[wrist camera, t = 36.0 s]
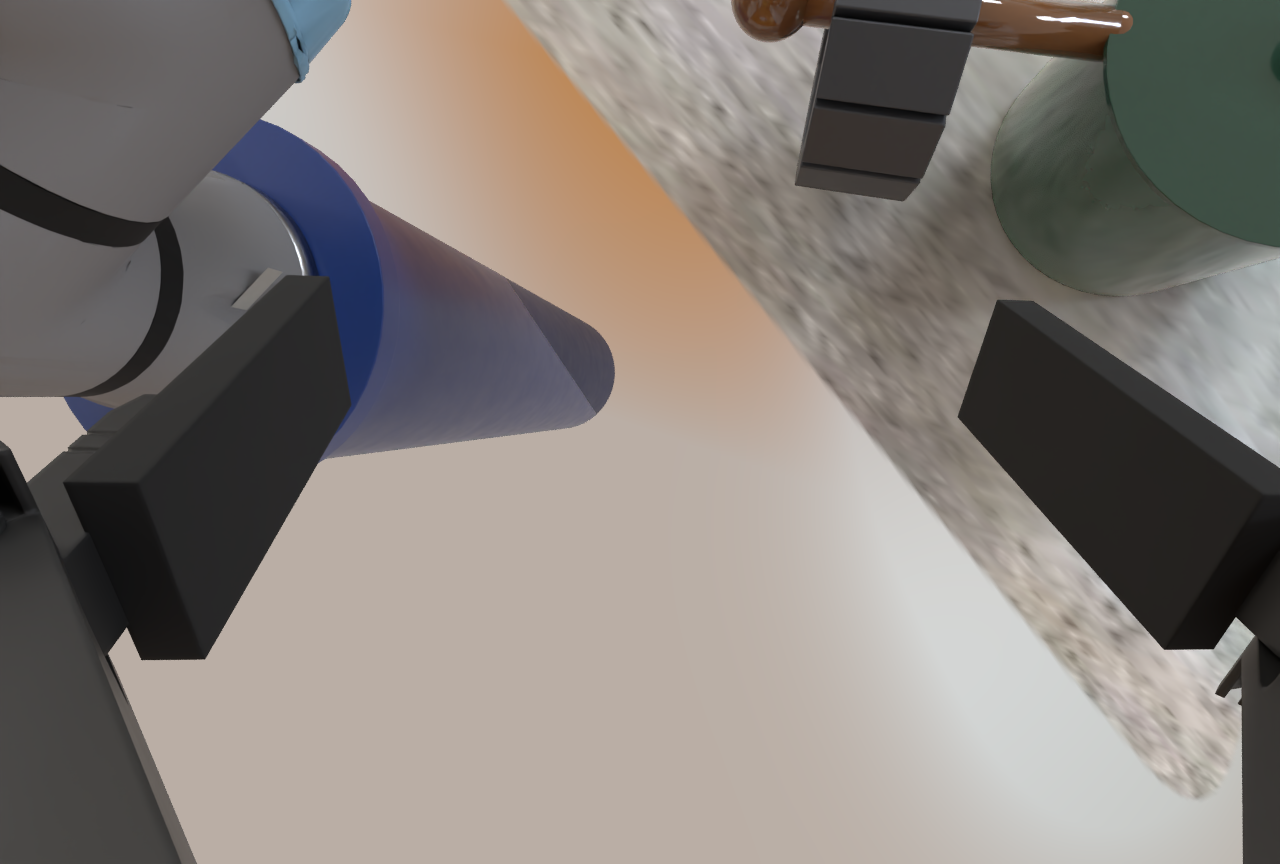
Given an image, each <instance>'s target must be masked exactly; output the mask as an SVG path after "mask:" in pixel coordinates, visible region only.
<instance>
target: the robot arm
mask: <svg viewBox="0 0 1280 864" xmlns="http://www.w3.org/2000/svg"><path fill="white" fill-rule="evenodd" d="M350 7H351V0H0V397H81V398H84V399H87V400H89V401H92V402H95V403H97V404H100V405H103V406H106V407H109V408H114V409H113V410H111V411H109V412H108V413H107V414H106V415H105V416H104V417H102V418H101V419H100V420H99V421H98V422H97V423H95V424H94V425H93V426H92V427H91V428H90V429H89V430H87V435H82V436H81V437H79V438H78V439H77V440H76V441H75V442H74V443H72V444H71V445H70V446H69V447H68V452H62V453H61V454H60V455H59V456H57V457H56V458H55V459H54V460H53V461H52V462H50V463H49V464H48V465H47V466H46V467H45V468H44V469H42V470H41V471H40V472H39V473H38V474H37V475H36V476H34V477H33V478H32V479H31V480H30V481H29V482H27V483H26V481H25V479H24V477H23V474H22V472H21V470H20V468H19V466H18V464H17V462H16V460H15V458H14V455H13V453H12V451H11V449H10V448H9V447H8V446H6V445H5V444H4V443H3V442H1V441H0V864H197V863H196V861H195V858H194V856H193V853H192V851H191V849H190V846H189V844H188V841H187V839H186V837H185V835H184V832H183V829H182V827H181V825H180V822H179V820H178V817H177V815H176V813H175V810H174V808H173V806H172V803H171V801H170V798H169V796H168V794H167V791H166V789H165V786H164V784H163V782H162V779H161V777H160V774H159V772H158V770H157V767H156V765H155V762H154V760H153V758H152V755H151V753H150V751H149V748H148V746H147V743H146V741H145V739H144V736H143V734H142V731H141V729H140V727H139V724H138V722H137V719H136V717H135V715H134V712H133V710H132V707H131V705H130V703H129V700H128V698H127V695H126V693H125V691H124V688H123V686H122V684H121V681H120V679H119V676H118V674H117V672H116V670H115V667H114V665H113V663H112V661H111V659H110V657H109V655H108V652H109V651H110V649H111V648H112V647H113V645H114V644H115V643H116V641H117V640H118V639H119V637H120V636H121V634H122V633H123V632H124V630H125V629H126V628H128V631H129V633H130V635H131V637H132V640H133V642H134V644H135V647H136V649H137V651H138V653H139V656H140V658H141V660H197V659H205V658H206V657H207V655H208V653H209V652H210V650H211V648H212V646H213V645H214V643H215V641H216V639H217V638H218V636H219V634H220V633H221V631H222V629H223V627H224V626H225V624H226V622H227V620H228V619H229V617H230V615H231V613H232V612H233V610H234V608H235V606H236V605H237V603H238V601H239V599H240V598H241V596H242V594H243V592H244V591H245V589H246V587H247V586H248V584H249V582H250V580H251V579H252V577H253V575H254V573H255V572H256V570H257V568H258V567H259V565H260V563H261V561H262V560H263V558H264V556H265V554H266V553H267V551H268V549H269V547H270V546H271V544H272V542H273V540H274V538H275V537H276V535H277V534H278V532H279V530H280V528H281V527H282V525H283V523H284V521H285V519H286V518H287V516H288V514H289V513H290V511H291V509H292V508H293V506H294V504H295V502H296V500H297V499H298V497H299V495H300V494H301V492H302V490H303V488H304V487H305V485H306V483H307V481H308V480H309V478H310V476H311V474H312V473H313V471H314V469H315V467H316V466H317V464H318V462H319V461H320V459H321V457H322V455H323V454H324V452H325V450H326V449H327V447H328V445H329V443H330V442H331V440H332V438H333V436H334V435H335V433H336V431H337V429H338V428H339V426H340V424H341V422H342V421H343V419H344V417H345V416H346V414H347V412H348V410H349V409H350V407H351V399H350V393H349V387H348V381H347V376H346V370H345V364H344V358H343V353H342V347H341V341H340V335H339V330H338V324H337V318H336V312H335V306H334V301H333V295H332V289H331V283H330V278H329V276H319V274H318V270H317V266H316V262H315V259H314V256H313V254H312V251H311V249H310V247H309V244H308V242H307V240H306V238H305V237H304V235H303V233H302V231H301V230H300V228H299V227H298V225H297V224H296V223H295V221H294V220H293V219H292V217H291V216H290V215H289V214H288V213H287V212H286V211H285V210H284V209H283V208H282V207H281V206H280V205H279V204H278V203H277V202H276V201H274V200H273V199H272V198H270V197H269V196H268V195H266V194H265V193H263V192H261V191H260V190H258V189H256V188H254V187H252V186H250V185H248V184H246V183H244V182H241V181H239V180H237V179H235V178H233V177H230V176H228V175H225V174H223V173H220V172H217V171H212V169H213V168H214V167H215V166H216V165H217V164H218V163H219V162H220V161H221V160H222V159H223V158H224V157H225V155H226V154H227V153H228V152H229V151H230V150H231V149H232V148H233V147H234V146H235V145H236V144H237V143H238V142H239V141H240V140H241V139H242V138H243V136H244V135H245V134H246V133H247V132H248V131H249V130H250V129H251V128H252V127H253V126H254V125H255V124H256V123H257V122H258V121H259V120H260V118H261V117H262V116H263V115H264V114H265V113H266V112H267V111H268V110H269V109H270V108H271V107H272V105H274V104H275V103H276V102H277V100H278V99H279V98H280V97H281V96H282V95H283V94H284V93H285V92H286V91H287V90H288V89H289V88H290V87H291V86H292V85H293V84H294V83H301V82H302V81H303V80H304V79H305V75H306V74H307V73H308V72H309V63H310V62H311V61H312V60H313V59H314V58H315V56H316V55H317V54H318V53H319V52H320V50H321V49H322V48H323V47H324V46H325V45H326V43H327V42H328V41H329V40H330V39H331V37H332V36H333V35H334V34H335V33H336V31H337V30H338V29H339V28H340V27H341V25H342V24H343V23H344V22H345V20H346V18H347V16H348V14H349V11H350ZM958 418H959V419H960V420H961V421H962V423H963V424H964V425H965V426H966V427H967V428H968V429H969V430H970V432H971V433H972V434H973V435H974V436H975V437H976V438H977V439H978V441H979V442H980V443H981V444H982V445H983V446H984V447H985V448H986V450H987V451H988V452H989V453H990V454H991V455H992V456H993V457H994V459H995V460H996V461H997V462H998V463H999V464H1000V465H1001V466H1002V468H1003V469H1004V470H1005V471H1006V472H1007V473H1008V474H1009V476H1010V477H1011V478H1012V479H1013V480H1014V481H1015V482H1016V483H1017V485H1018V486H1019V487H1020V488H1021V489H1022V490H1023V491H1024V492H1025V494H1026V495H1027V496H1028V497H1029V498H1030V499H1031V500H1032V501H1033V503H1034V504H1035V505H1036V506H1037V507H1038V508H1039V509H1040V510H1041V512H1042V513H1043V514H1044V515H1045V516H1046V517H1047V518H1048V519H1049V521H1050V522H1051V523H1052V524H1053V525H1054V526H1055V527H1056V528H1057V530H1058V531H1059V532H1060V533H1061V534H1062V535H1063V536H1064V537H1065V539H1066V540H1067V541H1068V542H1069V543H1070V544H1071V545H1072V546H1073V548H1074V549H1075V550H1076V551H1077V552H1078V553H1079V554H1080V556H1081V557H1082V558H1083V559H1084V560H1085V561H1086V562H1087V563H1088V565H1089V566H1090V567H1091V568H1092V569H1093V570H1094V571H1095V572H1096V574H1097V575H1098V576H1099V577H1100V578H1101V579H1102V580H1103V581H1104V583H1105V584H1106V585H1107V586H1108V587H1109V588H1110V589H1111V590H1112V592H1113V593H1114V594H1115V595H1116V596H1117V597H1118V598H1119V599H1120V601H1121V602H1122V603H1123V604H1124V605H1125V606H1126V607H1127V608H1128V610H1129V611H1130V612H1131V613H1132V614H1133V615H1134V616H1135V617H1136V619H1137V620H1138V621H1139V622H1140V623H1141V624H1142V625H1143V626H1144V628H1145V629H1146V630H1147V631H1148V632H1149V633H1150V634H1151V636H1152V637H1153V638H1154V639H1155V640H1156V641H1157V642H1158V643H1159V645H1160V646H1161V647H1162V648H1163V649H1164V650H1184V649H1214V648H1215V646H1216V645H1217V643H1218V642H1219V640H1220V639H1221V638H1222V636H1223V635H1224V633H1225V632H1226V630H1227V629H1228V627H1229V626H1230V625H1231V623H1232V622H1233V620H1234V619H1235V617H1237V618H1238V619H1239V620H1240V621H1241V622H1242V623H1243V624H1244V625H1245V626H1246V627H1247V628H1248V629H1249V630H1250V631H1251V632H1252V633H1253V634H1254V635H1255V636H1254V638H1253V639H1252V641H1251V642H1250V643H1249V645H1248V646H1247V647H1246V649H1245V650H1244V652H1243V653H1242V654H1241V656H1240V657H1239V659H1238V660H1237V661H1236V663H1235V664H1234V665H1233V667H1232V668H1231V670H1230V671H1229V672H1228V674H1227V675H1226V676H1225V678H1224V679H1223V681H1222V682H1221V683H1220V685H1219V687H1218V689H1217V691H1216V693H1215V694H1217V695H1219V696H1221V697H1223V698H1225V696H1226V695H1227V694H1228V692H1229V691H1230V690H1231V689H1236V688H1241V687H1242V698H1241V699H1240V701H1239V702H1238V704H1239V705H1241V706H1242V790H1243V791H1242V792H1243V793H1242V795H1243V796H1242V797H1243V798H1242V799H1243V800H1242V803H1243V864H1280V468H1279V467H1277V466H1276V465H1274V464H1273V463H1271V462H1270V461H1268V460H1267V459H1266V458H1264V457H1263V456H1261V455H1260V454H1258V453H1257V452H1255V451H1254V450H1252V449H1251V448H1249V447H1248V446H1246V445H1245V444H1243V443H1242V442H1240V441H1239V440H1237V439H1236V438H1234V437H1233V436H1232V435H1230V434H1229V433H1227V432H1226V431H1224V430H1223V429H1221V428H1220V427H1218V426H1217V425H1215V424H1214V423H1212V422H1211V421H1209V420H1208V419H1206V418H1205V417H1203V416H1202V415H1201V414H1199V413H1198V412H1196V411H1195V410H1193V409H1192V408H1190V407H1189V406H1187V405H1186V404H1184V403H1183V402H1181V401H1180V400H1178V399H1177V398H1175V397H1174V396H1172V395H1171V394H1170V393H1168V392H1167V391H1165V390H1164V389H1162V388H1161V387H1159V386H1158V385H1156V384H1155V383H1153V382H1152V381H1150V380H1149V379H1147V378H1146V377H1144V376H1143V375H1141V374H1140V373H1139V372H1137V371H1136V370H1134V369H1133V368H1131V367H1130V366H1128V365H1127V364H1125V363H1124V362H1122V361H1121V360H1119V359H1118V358H1116V357H1115V356H1113V355H1112V354H1110V353H1109V352H1108V351H1106V350H1105V349H1103V348H1102V347H1100V346H1099V345H1097V344H1096V343H1094V342H1093V341H1091V340H1090V339H1088V338H1087V337H1085V336H1084V335H1082V334H1081V333H1079V332H1078V331H1077V330H1075V329H1074V328H1072V327H1071V326H1069V325H1068V324H1066V323H1065V322H1063V321H1062V320H1060V319H1059V318H1057V317H1056V316H1054V315H1053V314H1051V313H1050V312H1048V311H1047V310H1046V309H1044V308H1043V307H1041V306H1040V305H1038V304H1037V303H1035V302H1034V301H1018V300H997V302H996V305H995V308H994V311H993V314H992V317H991V320H990V323H989V326H988V329H987V332H986V335H985V338H984V340H983V343H982V346H981V349H980V352H979V355H978V358H977V361H976V364H975V367H974V370H973V373H972V376H971V379H970V382H969V385H968V388H967V391H966V394H965V397H964V400H963V403H962V406H961V408H960V411H959V414H958Z"/></svg>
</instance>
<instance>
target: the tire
mask: <svg viewBox="0 0 1280 864" xmlns="http://www.w3.org/2000/svg"><path fill="white" fill-rule="evenodd" d="M981 4H982V0H835V3H834V8H833V13H832V18H831V23H830V27H829V29H824V33H823V38H822V43H821V48H820V53H819V58H818V62H817V68H816V72H815V77H814V82H813V87H812V92H811V98H810V103H809V108H808V113H807V118H806V124H805V128H804V133H803V139H802V144H801V150H800V155H799V160H798V167H797V172H796V180H795V185H796V186H802V187H809V188H816V189H823V190H829V191H836V192H843V193H850V194H857V195H863V196H870V197H877V198H884V199H890V200H897V201H905V200H906V199H907V197H908V196H909V195H910V194H911V193H912V192H913V191H914V189H915V188H916V187H917V186H918V185H919V183H920V180H921V179H922V178H923V176H924V174H925V172H926V169H927V167H928V165H929V162H930V160H931V158H932V155H933V153H934V151H935V148H936V146H937V144H938V141H939V139H940V137H941V135H942V132H943V130H944V128H945V124H946V115H949V114H950V111H951V108H952V105H953V102H954V98H955V95H956V92H957V89H958V86H959V82H960V79H961V76H962V73H963V70H964V66H965V63H966V60H967V57H968V54H969V50H970V47H971V44H972V41H973V38H974V34H973V33H971V31H972V30H973V28H974V27H975V25H976V23H977V22H978V18H979V14H980V9H981Z"/></svg>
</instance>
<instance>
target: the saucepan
mask: <svg viewBox="0 0 1280 864" xmlns="http://www.w3.org/2000/svg"><path fill="white" fill-rule="evenodd" d="M834 3H835V0H731V5H732V11H733V14H734V17H735V19H736V22H737V23H738V25H739V26H740V28H741V29H742V30H743V31H744V32H745V33H746V34H747V35H748V36H750V37H751V38H753V39H755V40H758V41H762V42H778V41H782V40H785V39H787V38H789V37H790V36H792V35H794V34H795V33H796V32H797V31H798V30H799V29H800V28H801V27H802V26H807V27H815V28H823V29H829V27H830V23H831V18H832V13H833V8H834ZM971 33H973V34H974V38H973V41H972V44H971V47H977V48H986V49H994V50H1002V51H1010V52H1018V53H1026V54H1034V55H1042V56H1050V57H1053V58H1052V59H1051V60H1050V61H1049V62H1048V63H1047V64H1046V65H1045V66H1044V68H1043V69H1042V70H1041V71H1040V72H1039V73H1038V74H1037V75H1036V76H1035V78H1034V79H1033V80H1032V81H1031V82H1030V83H1029V84H1028V85H1027V86H1026V87H1025V89H1024V90H1023V91H1022V92H1021V94H1020V95H1019V96H1018V98H1017V99H1016V100H1015V101H1014V103H1013V105H1012V106H1011V108H1010V110H1009V111H1008V113H1007V115H1006V116H1005V118H1004V121H1003V123H1002V125H1001V127H1000V130H999V132H998V135H997V139H996V142H995V146H994V149H993V156H992V162H991V187H992V195H993V201H994V204H995V208H996V212H997V215H998V217H999V220H1000V222H1001V224H1002V227H1003V229H1004V231H1005V232H1006V234H1007V236H1008V237H1009V239H1010V241H1011V242H1012V244H1013V245H1014V246H1015V247H1016V249H1017V250H1018V251H1019V252H1020V253H1021V255H1022V256H1023V257H1024V258H1025V259H1026V260H1027V261H1029V262H1030V263H1031V264H1032V265H1033V266H1034V267H1035V268H1037V269H1038V270H1039V271H1041V272H1042V273H1044V274H1045V275H1046V276H1048V277H1050V278H1052V279H1053V280H1055V281H1057V282H1059V283H1061V284H1063V285H1066V286H1068V287H1071V288H1074V289H1077V290H1079V291H1084V292H1088V293H1092V294H1097V295H1107V296H1135V295H1141V294H1148V293H1153V292H1157V291H1160V290H1164V289H1168V288H1171V287H1175V286H1179V285H1182V284H1186V283H1190V282H1193V281H1197V280H1201V279H1204V278H1208V277H1212V276H1215V275H1219V274H1223V273H1226V272H1230V271H1233V270H1237V269H1241V268H1244V267H1248V266H1252V265H1255V264H1259V263H1263V262H1266V261H1270V260H1274V259H1277V258H1280V0H1104V2H1103V3H1096V2H1087V1H1078V0H982V4H981V9H980V14H979V18H978V22H977V23H976V25H975V27H974V28H973V30H972V31H971Z"/></svg>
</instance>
